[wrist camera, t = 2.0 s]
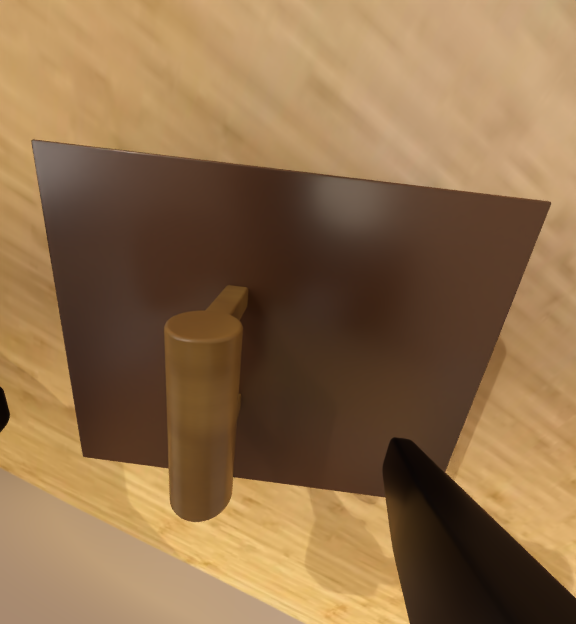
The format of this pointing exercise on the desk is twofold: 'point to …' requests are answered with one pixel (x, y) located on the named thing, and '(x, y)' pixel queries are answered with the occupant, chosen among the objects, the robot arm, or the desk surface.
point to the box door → (271, 315)
